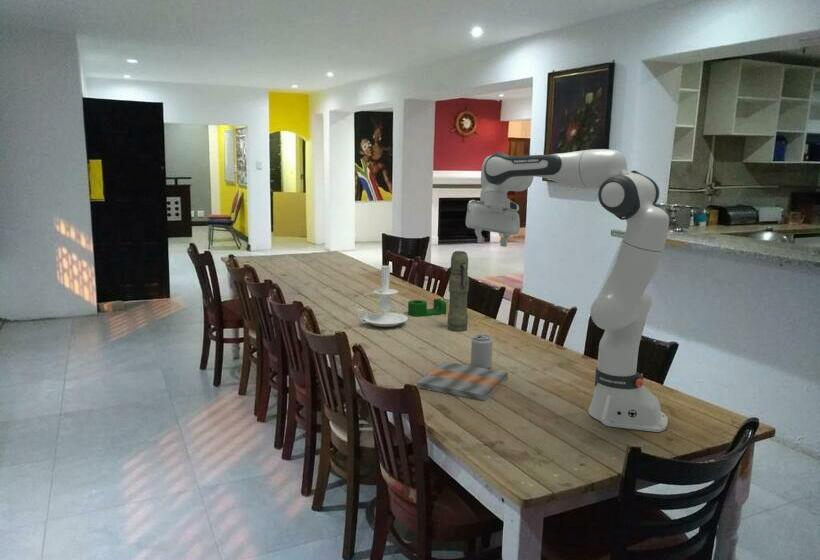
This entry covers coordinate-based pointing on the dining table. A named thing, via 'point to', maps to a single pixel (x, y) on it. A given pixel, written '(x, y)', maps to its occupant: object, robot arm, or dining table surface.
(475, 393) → the grey orange flat square
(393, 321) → the candlestick
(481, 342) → the can
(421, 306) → the slotted cylinder bracket
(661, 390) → the dining table surface
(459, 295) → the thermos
